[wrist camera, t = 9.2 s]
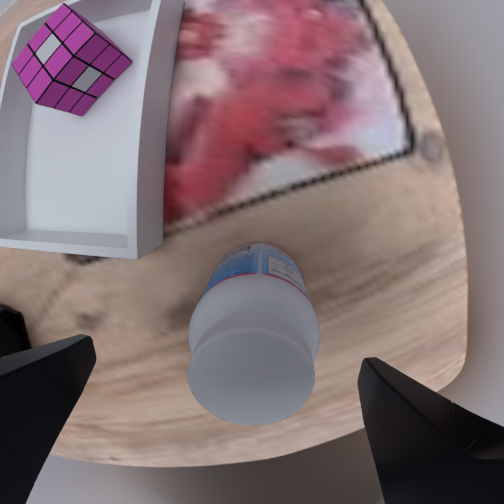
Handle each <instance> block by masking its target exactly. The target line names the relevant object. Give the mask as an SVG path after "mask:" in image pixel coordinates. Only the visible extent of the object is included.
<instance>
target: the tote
mask: <svg viewBox="0 0 504 504" xmlns="http://www.w3.org/2000/svg"><path fill="white" fill-rule="evenodd" d="M63 3H66V4H67V5H68V6H70V7H71V8H72V9H74V10H75V11H76V12H77V13H79V14H80V15H82V16H83V17H84V18H85V19H87V20H88V21H89V22H91V23H92V24H93V25H94V26H96V27H97V28H98V29H100V30H101V31H102V32H103V33H104V34H105V35H106V36H107V37H108V38H109V39H110V40H111V41H112V42H113V43H114V44H116V45H117V46H118V47H119V48H120V49H121V50H122V51H123V52H124V53H125V54H126V55H127V56H128V57H129V58H130V60H132V63H131V64H130V65H129V66H128V67H127V68H126V69H125V70H124V71H123V72H122V73H121V74H120V75H119V76H118V77H117V78H116V79H114V81H113V82H112V83H111V84H110V86H109V87H108V88H107V89H106V90H105V91H104V92H103V93H102V94H101V95H100V96H99V97H98V98H97V100H96V101H95V102H94V103H93V104H92V105H91V107H90V108H89V109H88V110H87V111H86V113H85V114H84V115H83V116H78V115H75V114H71V113H68V112H64V111H60V110H57V109H53V108H49V107H45V106H41V105H38V104H35V102H34V101H33V99H32V97H31V96H30V94H29V93H28V91H27V89H26V88H25V86H24V85H23V83H22V81H21V80H20V78H19V76H18V75H17V73H16V71H15V69H14V68H13V66H12V63H13V62H14V61H15V59H16V58H17V56H18V55H19V54H20V52H21V51H22V50H23V48H24V47H25V46H26V45H27V44H28V42H29V41H30V39H31V38H32V37H33V36H34V35H35V33H36V32H37V31H38V30H39V29H40V27H41V26H42V25H43V24H44V23H45V22H46V21H47V20H48V18H49V17H50V16H51V15H52V14H53V13H54V12H55V11H56V10H57V9H58V8H59V7H60V6H61V5H62V4H63ZM63 3H61V4H59V5H56V6H54V7H52V8H50V9H48V10H45V11H43V12H41V13H39V14H37V15H35V16H33V17H31V18H29V19H28V20H26V21H24V22H22V23H20V24H19V26H18V29H17V31H16V34H15V37H14V40H13V43H12V47H11V50H10V53H9V57H8V60H7V64H6V68H5V72H4V76H3V80H2V85H1V89H0V246H2V247H11V248H20V249H30V250H40V251H50V252H60V253H70V254H81V255H92V256H102V257H114V258H125V259H137V260H138V259H139V258H141V257H142V256H144V255H145V254H147V253H149V252H150V251H152V250H154V249H155V248H157V247H158V246H160V245H162V244H163V199H164V171H165V153H166V138H167V125H168V114H169V104H170V94H171V85H172V77H173V69H174V62H175V55H176V48H177V42H178V36H179V30H180V24H181V19H182V13H183V8H184V3H185V2H184V0H68V1H66V2H63Z"/></svg>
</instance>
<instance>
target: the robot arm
mask: <svg viewBox="0 0 504 504" xmlns="http://www.w3.org/2000/svg"><path fill="white" fill-rule="evenodd" d="M95 363H96V353H95V349H94V345H93V340H92V338H91V337H90V336H87V335H83V334H79V335H76V336H73V337H69V338H66V339H63V340H59V341H56V342H53V343H49V344H46V345H43V346H39V347H36V348H32V349H31V348H30V344H29V341H28V337H27V334H26V330H25V326H24V322H23V318H22V315H21V314H20V313H19V312H16V311H13V310H9V309H7V308H5V307H2V306H0V504H26V501H27V499H28V497H29V495H30V492H31V490H32V488H33V486H34V482H35V481H36V479H37V477H38V475H39V473H40V471H41V469H42V467H43V465H44V463H45V461H46V459H47V457H48V455H49V453H50V451H51V449H52V447H53V445H54V443H55V441H56V439H57V437H58V436H59V434H60V432H61V430H62V428H63V426H64V424H65V423H66V421H67V419H68V417H69V415H70V414H71V412H72V410H73V408H74V406H75V405H76V403H77V401H78V399H79V398H80V396H81V394H82V392H83V390H84V387H85V385H86V383H87V381H88V378H89V376H90V374H91V372H92V370H93V367H94V365H95ZM358 390H359V396H360V402H361V408H362V415H363V421H364V425H365V429H366V432H367V436H368V440H369V443H370V447H371V451H372V454H373V458H374V462H375V465H376V469H377V474H378V477H379V481H380V485H381V490H382V493H383V497H384V502H385V504H504V427H503V426H501V425H499V424H496V423H493V422H492V421H489V420H487V419H484V418H482V417H480V416H478V415H476V414H474V413H472V412H470V411H468V410H466V409H464V408H463V407H461V406H459V405H457V404H455V403H452V402H451V401H450V400H448V399H447V398H445V397H443V396H441V395H440V394H438V393H436V392H434V391H433V390H431V389H429V388H427V387H426V386H424V385H422V384H421V383H419V382H417V381H415V380H414V379H412V378H410V377H409V376H407V375H405V374H403V373H402V372H400V371H398V370H397V369H395V368H393V367H392V366H390V365H388V364H387V363H385V362H383V361H382V360H380V359H378V358H376V357H372V358H365V359H364V360H363V362H362V365H361V369H360V373H359V377H358Z"/></svg>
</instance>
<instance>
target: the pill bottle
mask: <svg viewBox="0 0 504 504" xmlns="http://www.w3.org/2000/svg"><path fill="white" fill-rule="evenodd" d="M188 338H189V345H190V349H191V353H192V357H191V360H190V363H189V367H188V382H189V386H190V389H191V391H192V393H193V395H194V397H195V398H196V400H197V401H198V402H199V403H200V404H201V405H202V406H203V407H204V408H205V409H206V410H207V411H209V412H210V413H212V414H213V415H215V416H217V417H219V418H221V419H223V420H225V421H229V422H232V423H236V424H242V425H264V424H269V423H273V422H276V421H279V420H282V419H284V418H286V417H288V416H290V415H292V414H293V413H295V412H296V411H297V410H298V409H300V408H301V407H302V406H303V404H304V403H305V402H306V401H307V399H308V398H309V396H310V394H311V392H312V389H313V386H314V379H315V372H314V366H313V362H314V360H315V358H316V355H317V352H318V349H319V343H320V328H319V322H318V319H317V315H316V312H315V310H314V307H313V304H312V302H311V299H310V297H309V294H308V292H307V289H306V286H305V284H304V282H303V279H302V276H301V274H300V271H299V269H298V267H297V265H296V263H295V262H294V260H293V259H292V258H291V257H290V255H288V254H287V253H286V252H285V251H284V250H282V249H280V248H279V247H276V246H274V245H271V244H268V243H260V242H254V243H247V244H244V245H241V246H238V247H236V248H235V249H233V250H232V251H230V252H229V253H228V254H227V255H226V256H225V257H224V258H223V259H222V260H221V262H220V263H219V265H218V267H217V268H216V270H215V272H214V274H213V276H212V278H211V279H210V281H209V283H208V285H207V287H206V289H205V291H204V292H203V294H202V296H201V298H200V300H199V302H198V303H197V306H196V307H195V310H194V312H193V314H192V317H191V320H190V324H189V332H188Z"/></svg>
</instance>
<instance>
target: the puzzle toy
mask: <svg viewBox="0 0 504 504" xmlns="http://www.w3.org/2000/svg"><path fill="white" fill-rule="evenodd" d="M131 63H132V60H130V58H129V57H128V56H127V55H126V54H125V53H124V52H123V51H122V50H121V49H120V48H119V47H118V46H117V45H116V44H114V43H113V42H112V41H111V40H110V39H109V38H108V37H107V36H106V35H105V34H104V33H103V32H102V31H101V30H100V29H98V28H97V27H96V26H94V25H93V24H92V23H91V22H89V21H88V20H87V19H85V18H84V17H83V16H82V15H80V14H79V13H77V12H76V11H75V10H74V9H72V8H71V7H70V6H68V5H67V4H66V3H63V4H62V5H61V6H60V7H59V8H58V9H57V10H56V11H55V12H54V13H53V14H52V15H51V16H50V17H49V18H48V20H47V21H46V22H45V23H44V24H43V25H42V26H41V27H40V29H39V30H38V31H37V32H36V33H35V35H34V36H33V37H32V38H31V39H30V41H29V42H28V44H27V45H26V46H25V47H24V48H23V50H22V51H21V52H20V54H19V55H18V56H17V58H16V59H15V61H14V62H13V63H12V66H13V68H14V69H15V71H16V73H17V75H18V76H19V78H20V80H21V81H22V83H23V85H24V86H25V88H26V89H27V91H28V93H29V94H30V96H31V97H32V99H33V101H34V102H35V104H38V105H41V106H45V107H49V108H53V109H57V110H60V111H64V112H68V113H71V114H75V115H78V116H83V115H84V114H85V113H86V111H87V110H88V109H89V108H90V107H91V105H92V104H93V103H94V102H95V101H96V100H97V98H98V97H99V96H100V95H101V94H102V93H103V92H104V91H105V90H106V89H107V88H108V87H109V86H110V84H111V83H112V82H113V81H114V79H116V78H117V77H118V76H119V75H120V74H121V73H122V72H123V71H124V70H125V69H126V68H127V67H128V66H129V65H130V64H131Z"/></svg>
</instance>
